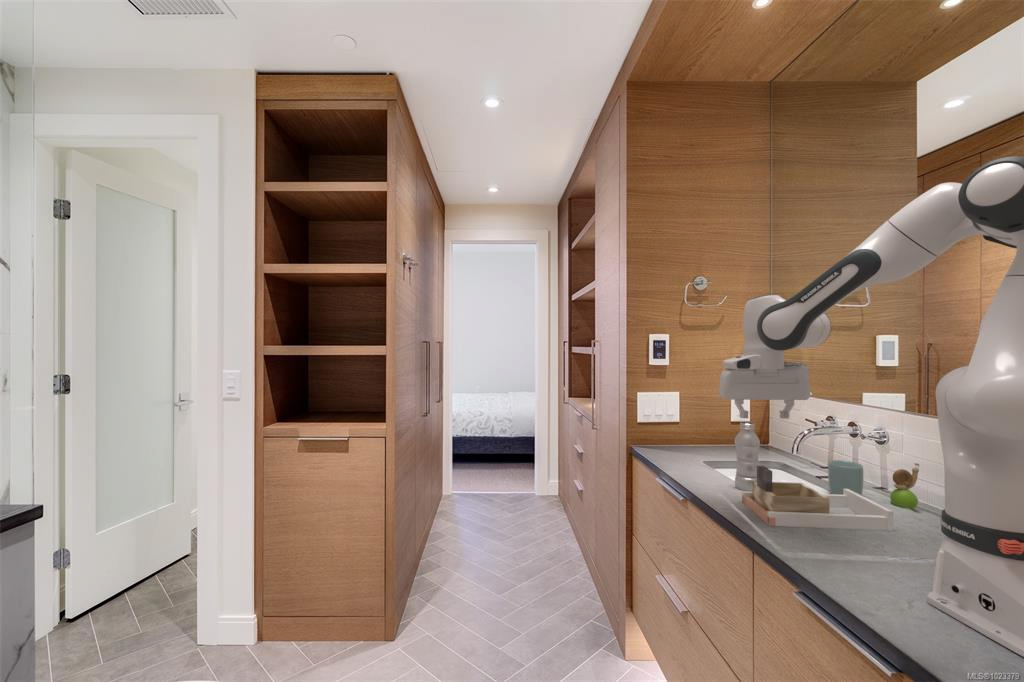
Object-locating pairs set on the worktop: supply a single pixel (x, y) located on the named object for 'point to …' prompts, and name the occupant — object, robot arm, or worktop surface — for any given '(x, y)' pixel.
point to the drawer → (786, 495)
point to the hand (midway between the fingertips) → (764, 418)
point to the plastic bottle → (746, 456)
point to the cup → (845, 477)
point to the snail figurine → (904, 488)
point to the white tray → (868, 511)
